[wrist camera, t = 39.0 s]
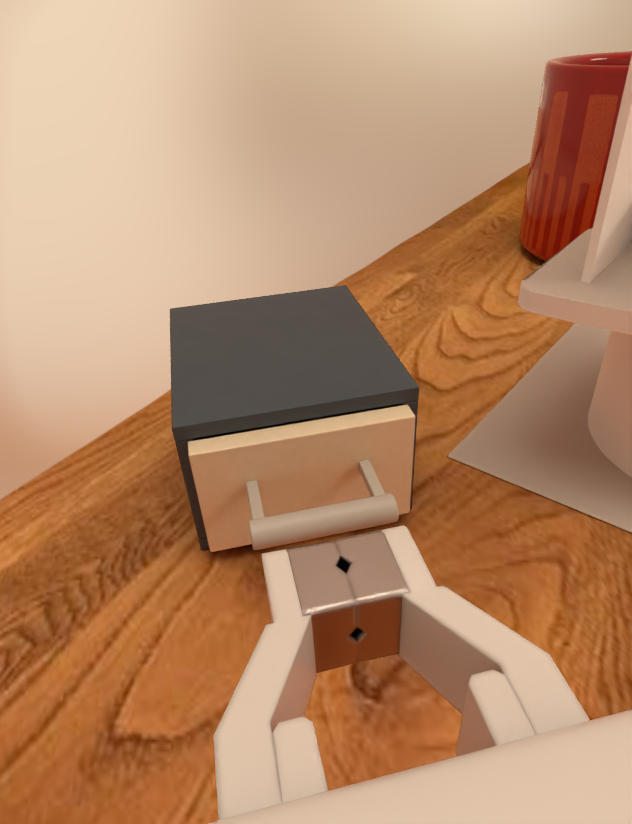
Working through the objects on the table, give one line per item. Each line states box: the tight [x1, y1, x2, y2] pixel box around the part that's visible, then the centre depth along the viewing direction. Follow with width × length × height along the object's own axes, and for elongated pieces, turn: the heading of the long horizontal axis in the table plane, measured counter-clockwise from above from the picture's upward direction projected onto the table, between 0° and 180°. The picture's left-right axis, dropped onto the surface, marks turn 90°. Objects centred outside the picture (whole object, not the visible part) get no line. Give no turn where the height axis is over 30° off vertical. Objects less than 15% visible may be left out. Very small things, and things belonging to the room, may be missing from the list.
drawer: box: [188, 405, 415, 552], centre depth 34 cm, size 18×12×7 cm, turn 13°
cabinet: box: [170, 285, 419, 550], centre depth 37 cm, size 15×13×9 cm
